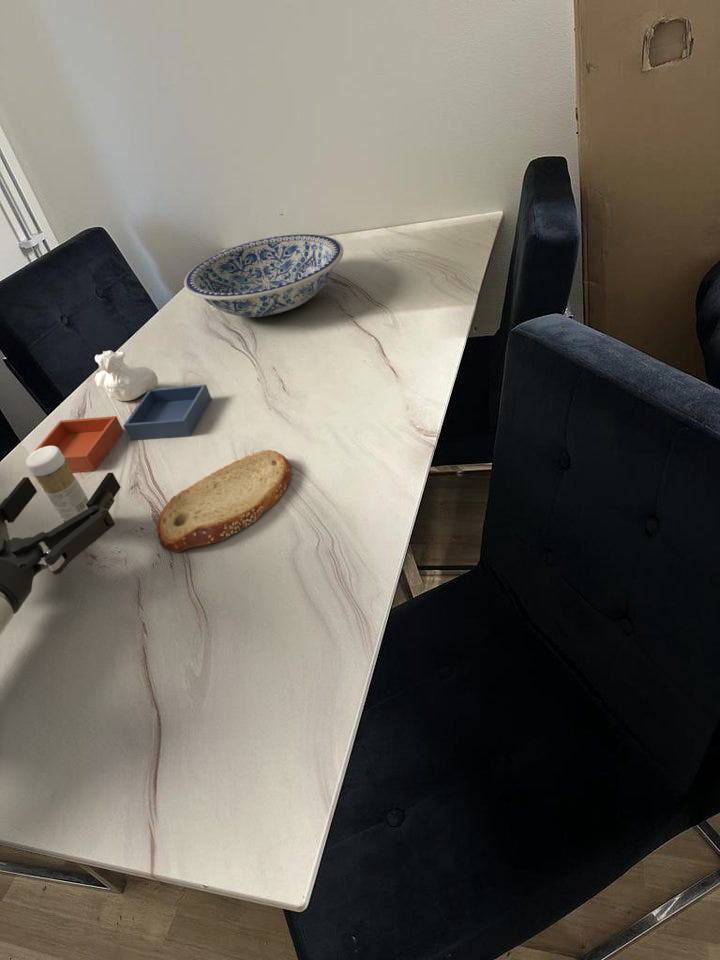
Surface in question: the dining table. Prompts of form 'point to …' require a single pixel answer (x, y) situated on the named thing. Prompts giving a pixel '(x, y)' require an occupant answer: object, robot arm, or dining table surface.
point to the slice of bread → (224, 501)
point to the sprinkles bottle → (57, 481)
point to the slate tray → (168, 412)
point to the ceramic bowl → (265, 274)
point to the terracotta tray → (84, 441)
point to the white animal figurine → (123, 377)
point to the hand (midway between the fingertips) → (71, 482)
